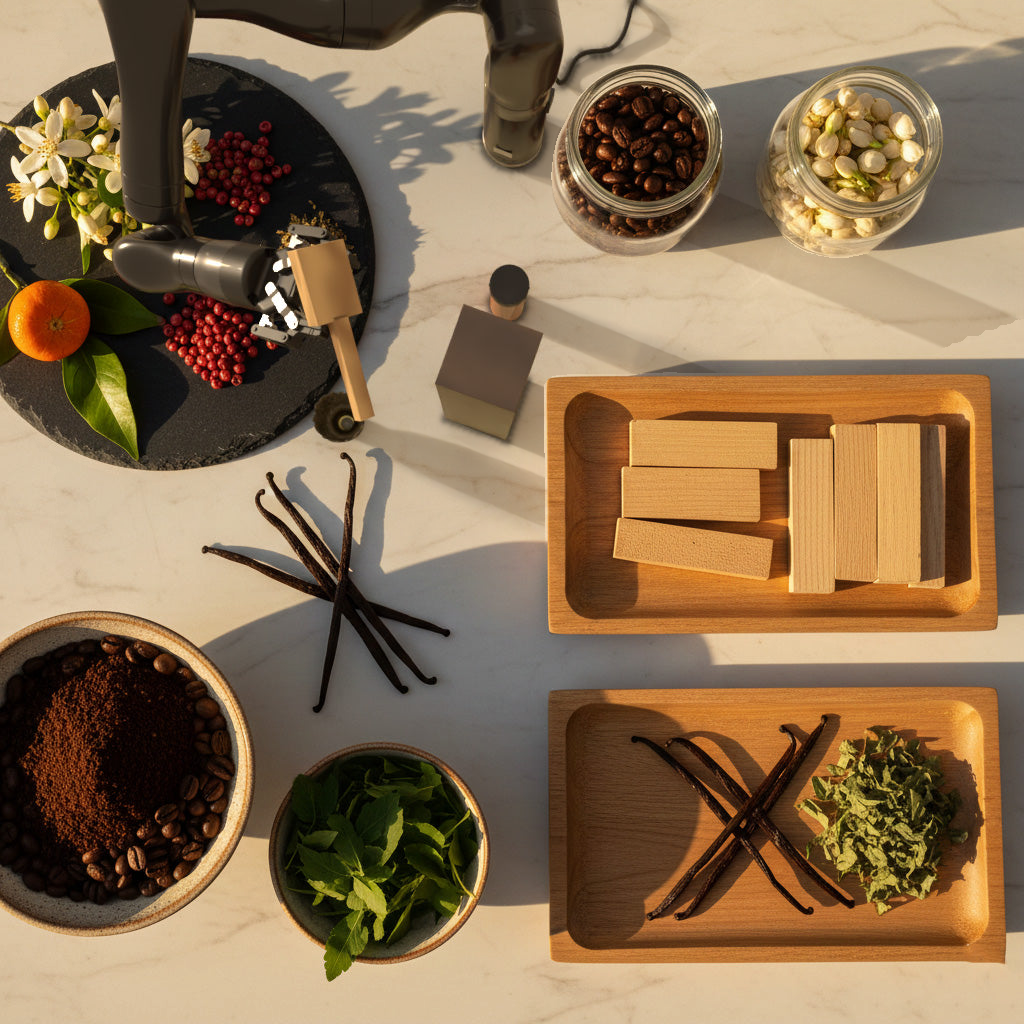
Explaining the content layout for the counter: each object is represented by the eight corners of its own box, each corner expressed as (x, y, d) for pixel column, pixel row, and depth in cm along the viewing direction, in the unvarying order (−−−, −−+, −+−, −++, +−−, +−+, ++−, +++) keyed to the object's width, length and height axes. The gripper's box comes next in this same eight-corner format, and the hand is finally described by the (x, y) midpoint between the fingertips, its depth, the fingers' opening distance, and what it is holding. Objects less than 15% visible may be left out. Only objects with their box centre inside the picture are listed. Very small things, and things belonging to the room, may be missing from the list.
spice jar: (496, 283, 125) (498, 262, 115) (528, 295, 125) (532, 274, 115) (485, 314, 125) (486, 295, 115) (516, 326, 125) (520, 308, 115)
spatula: (388, 410, 94) (378, 409, 95) (343, 238, 87) (333, 240, 88) (347, 427, 90) (337, 426, 92) (296, 249, 83) (286, 251, 84)
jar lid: (497, 262, 116) (497, 258, 114) (534, 276, 116) (535, 272, 114) (483, 299, 116) (483, 295, 114) (521, 312, 116) (521, 309, 114)
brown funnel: (365, 452, 124) (357, 447, 116) (318, 442, 124) (307, 436, 116) (375, 405, 124) (368, 396, 116) (328, 395, 124) (318, 386, 116)
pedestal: (467, 358, 125) (463, 303, 94) (527, 380, 125) (543, 333, 94) (445, 418, 124) (434, 383, 94) (505, 440, 125) (515, 412, 94)
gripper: (198, 317, 93) (298, 344, 85) (240, 203, 93) (344, 220, 86) (244, 341, 100) (341, 368, 92) (284, 234, 100) (384, 252, 92)
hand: (342, 296), depth 89 cm, fingers closed on spatula, 7 cm apart
